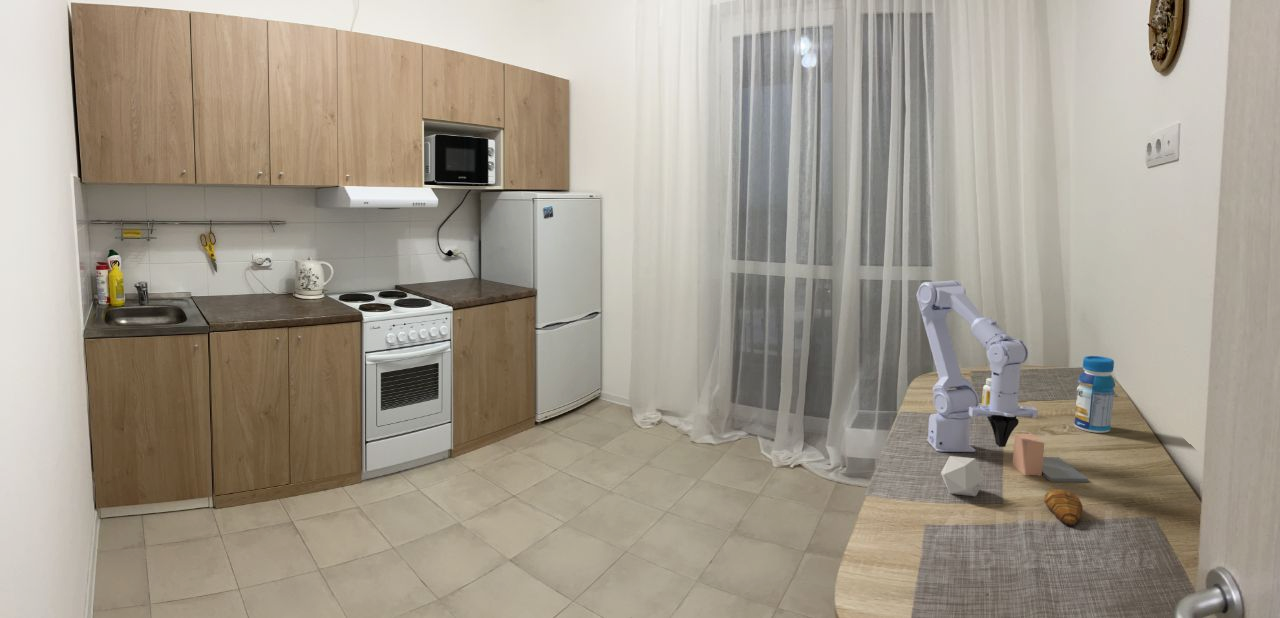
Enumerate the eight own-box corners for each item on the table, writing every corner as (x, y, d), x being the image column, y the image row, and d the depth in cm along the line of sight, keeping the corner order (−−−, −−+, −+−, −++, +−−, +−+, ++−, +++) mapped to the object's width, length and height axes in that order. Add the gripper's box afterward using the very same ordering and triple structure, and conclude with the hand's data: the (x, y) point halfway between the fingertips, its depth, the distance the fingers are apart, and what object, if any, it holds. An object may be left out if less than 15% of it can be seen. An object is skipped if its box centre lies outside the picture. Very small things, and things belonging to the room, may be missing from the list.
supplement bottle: (977, 408, 190) (979, 378, 188) (992, 406, 191) (994, 376, 189) (990, 413, 185) (992, 382, 183) (1005, 411, 186) (1008, 381, 184)
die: (971, 508, 131) (998, 471, 131) (934, 482, 135) (959, 446, 134) (965, 504, 139) (990, 469, 139) (929, 479, 142) (954, 446, 142)
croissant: (1091, 532, 120) (1094, 508, 119) (1051, 526, 123) (1053, 503, 122) (1072, 500, 133) (1074, 478, 132) (1035, 495, 135) (1037, 474, 134)
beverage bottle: (1106, 436, 165) (1114, 364, 162) (1069, 428, 171) (1075, 359, 168) (1114, 428, 170) (1121, 358, 167) (1078, 420, 177) (1084, 353, 173)
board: (1050, 481, 141) (1050, 478, 141) (1023, 459, 153) (1024, 456, 152) (1087, 482, 140) (1088, 478, 140) (1058, 460, 152) (1058, 457, 151)
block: (1025, 475, 144) (1027, 443, 143) (1012, 464, 150) (1015, 433, 149) (1041, 475, 144) (1044, 443, 142) (1028, 465, 150) (1030, 433, 148)
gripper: (979, 395, 141) (975, 451, 143) (1046, 395, 139) (1041, 452, 142) (966, 386, 148) (963, 439, 150) (1030, 386, 146) (1026, 440, 149)
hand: (1000, 445), depth 146 cm, fingers closed
